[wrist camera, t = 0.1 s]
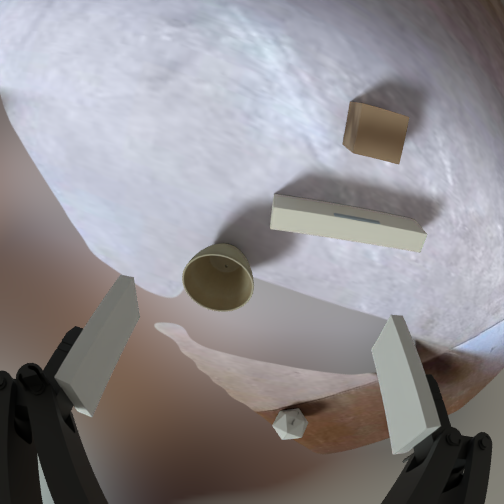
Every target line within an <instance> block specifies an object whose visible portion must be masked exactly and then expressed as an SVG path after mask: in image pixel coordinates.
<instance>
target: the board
mask: <svg viewBox="0 0 504 504" xmlns="http://www.w3.org/2000/svg"><path fill="white" fill-rule="evenodd" d="M270 229H274V230H281V231H288V232H295V233H302V234H309V235H315V236H322V237H329V238H335V239H341V240H348V241H354V242H360V243H366V244H373V245H379V246H385V247H391V248H396V249H402V250H408V251H414V252H421V249H422V247H423V244H424V242H425V239H426V237H427V233H426V232H425V231H424V230H423V229H422V227H421V226H420V225H419V224H418V223H417V222H416V221H415V220H414V219H411V218H407V217H402V216H397V215H393V214H388V213H383V212H378V211H373V210H368V209H363V208H358V207H352V206H347V205H341V204H336V203H330V202H324V201H318V200H312V199H306V198H300V197H293V196H287V195H280V194H274V197H273V204H272V211H271V222H270Z"/></svg>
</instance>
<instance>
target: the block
mask: <svg viewBox="0 0 504 504" xmlns="http://www.w3.org/2000/svg"><path fill="white" fill-rule="evenodd" d="M408 122H409V117H407V116H404V115H401V114H398V113H395V112H392V111H388V110H385V109H382V108H378V107H375V106H371V105H367V104H364V103H357V102H350V104H349V110H348V116H347V122H346V127H345V133H344V138H343V145H344V146H345V147H346V148H347V149H349V150H350V151H351V152H352V153H355V154H359V155H363V156H368V157H372V158H376V159H380V160H384V161H388V162H391V163H395V164H399V163H400V158H401V154H402V150H403V145H404V141H405V136H406V132H407V127H408Z"/></svg>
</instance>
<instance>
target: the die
mask: <svg viewBox="0 0 504 504" xmlns="http://www.w3.org/2000/svg"><path fill="white" fill-rule="evenodd" d="M307 424H308V421H307V420H306V418H305V417H304V415H303V414H302V412H301V411H300V409H299V408H297V409H290V410H283V411H280V412H279V414H278V416H277V418H276V420H275V421H274V423H273V425H272V426H273V427H274V429H275V430H276V432H277V433H278V434H279V436H280V437H281V439H282V440H285V439H294V438H302V436H303V433H304V431H305V429H306V426H307Z"/></svg>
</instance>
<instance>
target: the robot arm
mask: <svg viewBox="0 0 504 504" xmlns="http://www.w3.org/2000/svg"><path fill="white" fill-rule="evenodd" d="M139 318H140V314H139V308H138V302H137V296H136V290H135V283H134V277H129V276H124V275H120V276H119V278H118V279H117V280H116V282H115V283H114V285H113V286H112V287H111V289H110V290H109V292H108V293H107V294H106V296H105V297H104V299H103V300H102V302H101V303H100V305H99V306H98V308H97V309H96V311H95V312H94V314H93V315H92V317H91V318H90V320H89V321H88V323H87V324H86V326H85V327H84V329H83V328H80V327H76V326H75V327H74V328H72V329H71V330H70V331H68V332H67V333H66V335H65V336H64V338H63V339H62V342H61V343H60V344H59V346H58V347H57V349H56V350H55V352H54V353H53V355H52V357H51V358H50V360H49V362H48V363H47V365H46V367H45V368H44V370H42V369H41V368H40V367H39V366H38V365H37V364H34V363H27V364H25V365H23V366H22V367H21V368H20V369H19V370H18V372H17V374H16V379H13V378H12V377H11V376H10V374H9V373H7V372H6V371H0V504H43V502H42V496H41V488H40V481H39V470H38V459H37V453H38V456H39V460H40V464H41V467H42V470H43V473H44V476H45V479H46V482H47V485H48V488H49V490H50V493H51V496H52V498H53V501H54V503H55V504H108V502H107V500H106V498H105V496H104V494H103V492H102V490H101V488H100V486H99V483H98V481H97V479H96V477H95V474H94V472H93V470H92V467H91V465H90V463H89V460H88V458H87V455H86V452H85V450H84V447H83V444H82V442H81V439H80V436H79V433H78V430H77V427H76V424H75V421H74V418H73V414H72V412H71V410H72V407H73V405H74V407H75V408H76V410H77V411H78V412H81V413H83V414H85V415H88V416H90V417H93V414H94V412H95V410H96V407H97V405H98V403H99V401H100V398H101V396H102V394H103V392H104V389H105V387H106V385H107V383H108V381H109V379H110V376H111V374H112V372H113V370H114V368H115V366H116V364H117V362H118V360H119V358H120V355H121V353H122V351H123V349H124V347H125V345H126V343H127V341H128V339H129V337H130V335H131V333H132V331H133V329H134V327H135V325H136V323H137V322H138V320H139ZM371 351H372V355H373V359H374V363H375V367H376V371H377V376H378V380H379V384H380V389H381V393H382V398H383V403H384V408H385V413H386V418H387V423H388V429H389V435H390V441H391V447H392V453H393V454H400V453H406V452H408V451H409V450H410V449H412V448H414V453H413V454H411V455H410V456H408V457H407V458H405V459H404V460H403V463H404V462H405V461H407V460H408V462H407V464H406V465H405V467H404V469H403V471H402V472H401V474H400V475H399V477H398V479H397V480H396V482H395V484H394V485H393V487H392V488H391V490H390V491H389V493H388V494H387V496H386V497H385V499H384V500H383V501H382V503H381V504H484V503H485V498H486V492H487V486H488V480H489V473H490V465H491V455H492V441H491V438H490V436H489V435H488V434H486V433H485V432H480V433H478V434H477V435H476V436H474V437H468V436H462V435H461V434H460V432H459V431H458V430H457V429H456V428H453V427H451V424H450V422H449V418H448V415H447V411H446V408H445V405H444V402H443V400H442V396H441V393H440V390H439V387H438V384H437V382H436V380H435V379H434V378H433V376H432V375H431V374H429V375H425V372H424V370H423V367H422V364H421V361H420V358H419V356H418V353H417V350H416V348H415V345H414V342H413V340H412V337H411V335H410V332H409V330H408V327H407V325H406V322H405V320H404V317H403V316H399V315H391V316H390V317H389V319H388V321H387V323H386V325H385V327H384V328H383V330H382V332H381V334H380V336H379V337H378V339H377V341H376V342H375V344H374V346H373V347H372V349H371ZM463 471H464V474H463Z"/></svg>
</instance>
